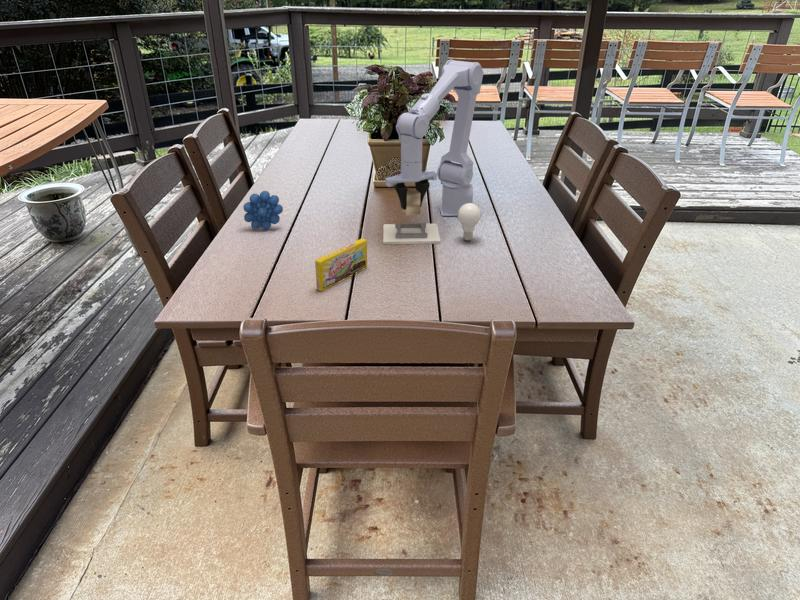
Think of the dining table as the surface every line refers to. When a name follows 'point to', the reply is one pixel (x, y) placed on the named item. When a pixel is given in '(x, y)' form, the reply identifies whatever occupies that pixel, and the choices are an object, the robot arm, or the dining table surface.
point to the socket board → (410, 233)
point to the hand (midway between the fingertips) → (411, 207)
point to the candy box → (340, 264)
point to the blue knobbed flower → (262, 210)
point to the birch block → (412, 202)
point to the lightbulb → (469, 219)
